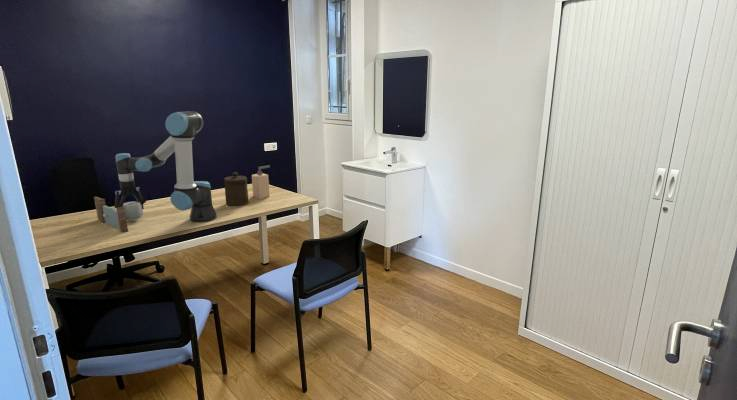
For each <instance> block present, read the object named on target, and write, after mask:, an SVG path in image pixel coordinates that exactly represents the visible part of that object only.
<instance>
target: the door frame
mask: <svg viewBox="0 0 737 400" xmlns="http://www.w3.org/2000/svg"><path fill="white" fill-rule="evenodd" d="M93 199H94V200H93V201H94V204H95V205H94V206H95V210H96V216H97V220H98V221H100V222H101V223H102V224H107V223H106V222H105V218H104V217H103V214H104V212H103V207H102V206H104V205H106V198H101V197H98V196H94V197H93ZM106 206H107V205H106ZM116 210H117V214H118V220H119V226H120V229H119V232H120V233H121V234H124V233H128V232H129V228H128V222H127V221H128V220H126V215H125V209H124V207H118V208H116Z"/></svg>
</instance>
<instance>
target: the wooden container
mask: <svg viewBox="0 0 737 400" xmlns="http://www.w3.org/2000/svg"><path fill="white" fill-rule="evenodd" d="M223 181H224V195H225V204H226V206H228V207H243V206H246V205H248V204H249V203H250V202H249V190H248V189H249V188H248V177H247V176H245V175H239V173H238V172H237V171H234V172H232V175H231V176H226V177H224V179H223Z"/></svg>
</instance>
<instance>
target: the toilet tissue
mask: <svg viewBox="0 0 737 400" xmlns="http://www.w3.org/2000/svg"><path fill="white" fill-rule="evenodd" d="M123 207H124V209H125V215H126V221H133V220H138V219H141V218H143V215H142V212H141V205H140V202H138V201H128V202H124V204H123Z"/></svg>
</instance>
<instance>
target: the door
mask: <svg viewBox="0 0 737 400" xmlns="http://www.w3.org/2000/svg"><path fill="white" fill-rule="evenodd" d="M102 207H103V212H104V214H103V217H104V218H105V222H106V223H105V224H108V225H110V226H112V227H113V228H116V229H118V230H120V226H119V220H118V214H117V209H116V208H112V207H110V206H108V205H104V206H102Z"/></svg>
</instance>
